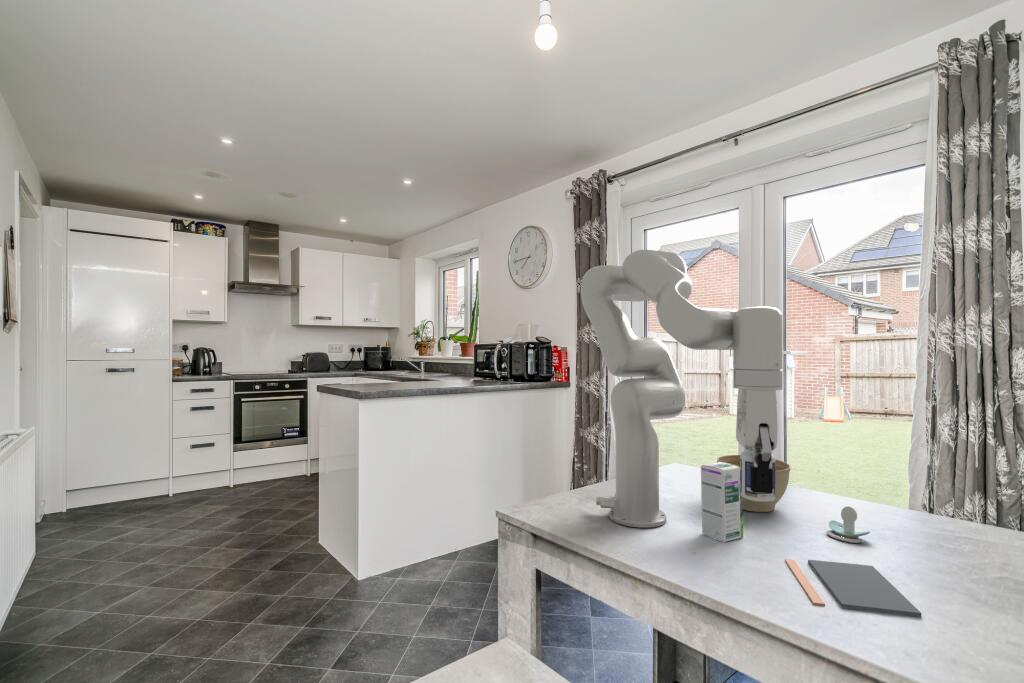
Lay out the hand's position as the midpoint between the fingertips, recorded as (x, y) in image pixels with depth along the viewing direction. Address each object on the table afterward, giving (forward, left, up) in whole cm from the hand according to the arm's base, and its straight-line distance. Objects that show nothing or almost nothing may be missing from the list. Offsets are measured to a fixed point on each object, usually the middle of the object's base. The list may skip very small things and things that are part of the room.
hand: (757, 485), depth 84 cm
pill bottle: (0, 0, -2) cm, 2 cm away
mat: (+15, 0, -15) cm, 21 cm away
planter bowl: (+7, +40, -15) cm, 43 cm away
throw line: (+7, 0, -15) cm, 17 cm away
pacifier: (+21, +23, -16) cm, 35 cm away
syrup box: (-3, +18, -15) cm, 24 cm away
